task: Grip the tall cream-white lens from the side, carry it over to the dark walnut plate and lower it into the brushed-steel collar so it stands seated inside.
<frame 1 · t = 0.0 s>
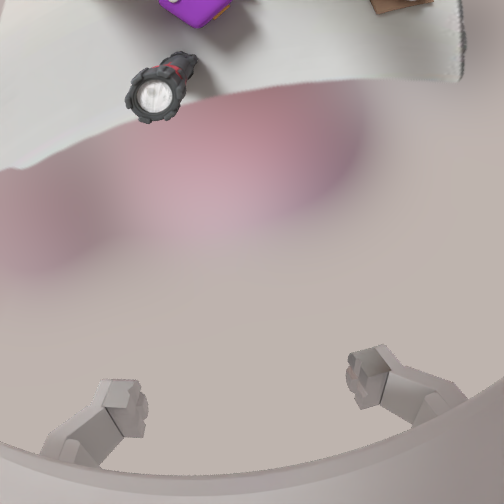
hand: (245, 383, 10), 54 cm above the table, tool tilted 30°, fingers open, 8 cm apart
flashlight: (174, 67, 45), on the table
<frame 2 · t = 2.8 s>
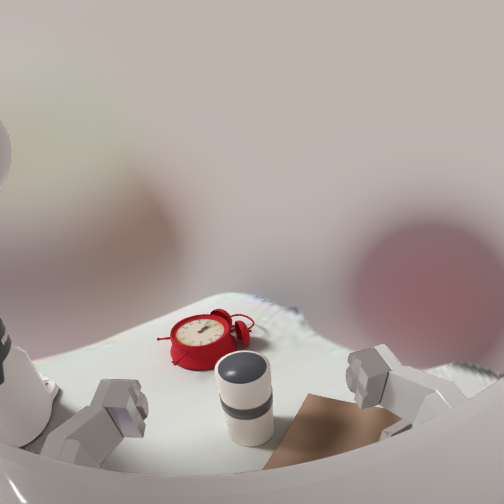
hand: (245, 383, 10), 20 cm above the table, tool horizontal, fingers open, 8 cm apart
white lens: (251, 429, 28), on the table
walnut mount plate: (369, 472, 20), on the table
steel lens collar: (412, 461, 19), resting on walnut mount plate
alarm clock: (213, 347, 44), on the table
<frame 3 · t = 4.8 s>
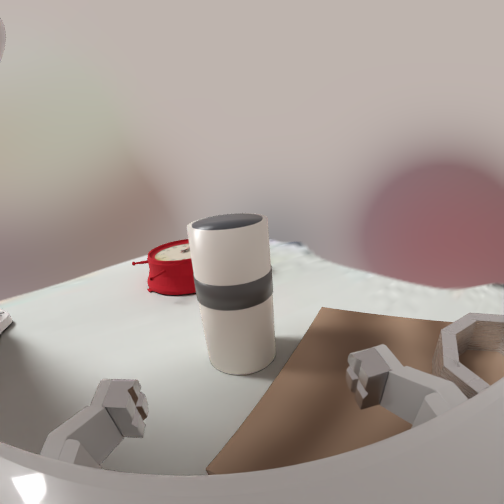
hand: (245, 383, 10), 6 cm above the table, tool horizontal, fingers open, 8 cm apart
white lens: (242, 353, 21), on the table
walnut mount plate: (431, 405, 13), on the table
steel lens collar: (488, 380, 12), resting on walnut mount plate
alarm clock: (199, 276, 37), on the table
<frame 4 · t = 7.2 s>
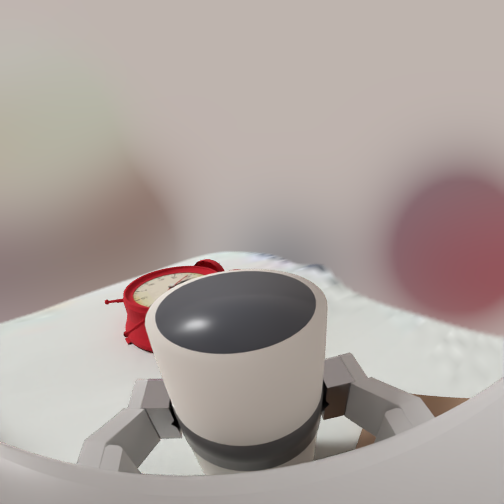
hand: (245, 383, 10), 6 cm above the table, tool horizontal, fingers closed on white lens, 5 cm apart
white lens: (259, 473, 11), on the table, touching gripper
alarm clock: (195, 318, 27), on the table
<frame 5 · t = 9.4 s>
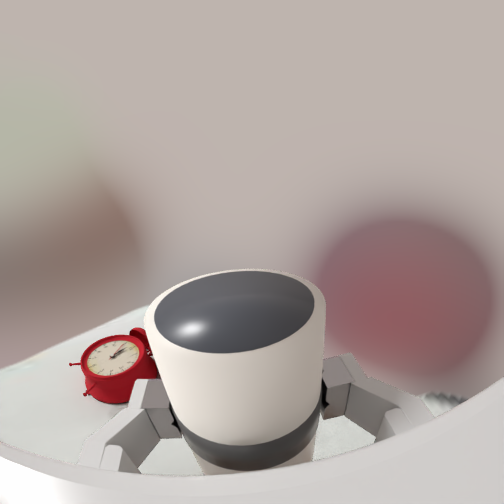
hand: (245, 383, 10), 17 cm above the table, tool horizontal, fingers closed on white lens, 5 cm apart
white lens: (259, 472, 11), point 11 cm above the table, touching gripper
alarm clock: (132, 373, 34), on the table
when the fingers open (8 cm above the table, at t = 11.8 s): white lens stays where it is, resting on walnut mount plate.
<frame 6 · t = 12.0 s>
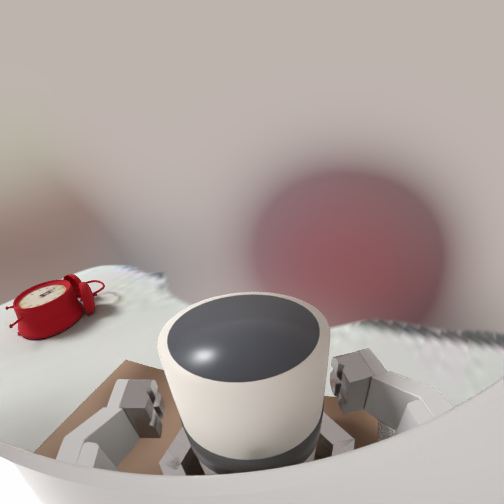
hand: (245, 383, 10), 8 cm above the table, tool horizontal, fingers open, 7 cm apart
white lens: (260, 479, 11), point 1 cm above the table, touching walnut mount plate
walnut mount plate: (185, 488, 12), on the table
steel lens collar: (260, 479, 11), resting on walnut mount plate
alarm clock: (61, 317, 32), on the table
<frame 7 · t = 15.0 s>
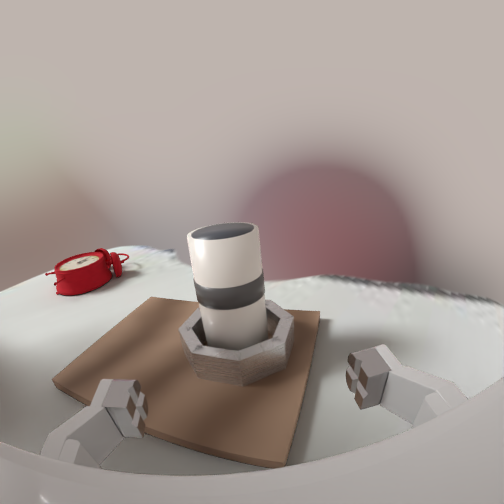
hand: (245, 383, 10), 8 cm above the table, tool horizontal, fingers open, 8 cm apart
white lens: (238, 348, 23), point 1 cm above the table, touching walnut mount plate
walnut mount plate: (191, 360, 23), on the table
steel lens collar: (239, 348, 23), resting on walnut mount plate
alarm clock: (93, 281, 44), on the table
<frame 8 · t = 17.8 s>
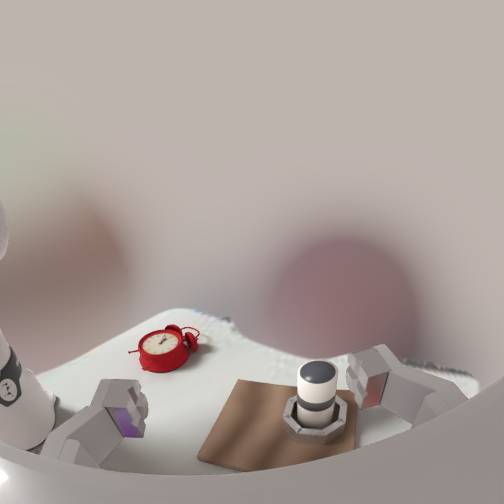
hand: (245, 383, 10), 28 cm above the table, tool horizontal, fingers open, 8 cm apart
white lens: (314, 421, 35), point 1 cm above the table, touching walnut mount plate
walnut mount plate: (285, 429, 36), on the table
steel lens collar: (314, 421, 35), resting on walnut mount plate
alarm clock: (170, 354, 56), on the table
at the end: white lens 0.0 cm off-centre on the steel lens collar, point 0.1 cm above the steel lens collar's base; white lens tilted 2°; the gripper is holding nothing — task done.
